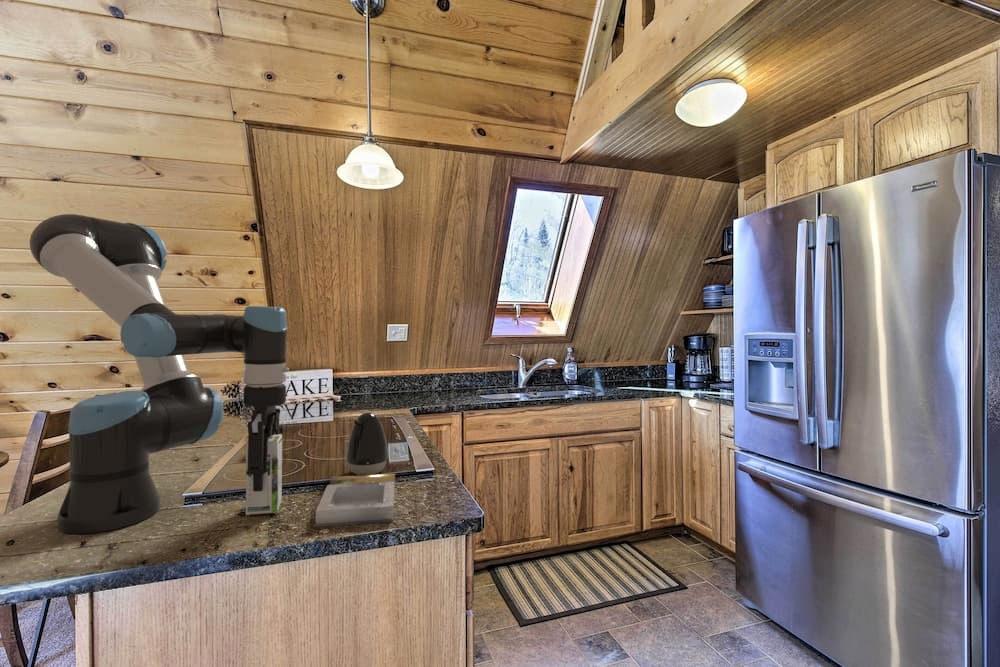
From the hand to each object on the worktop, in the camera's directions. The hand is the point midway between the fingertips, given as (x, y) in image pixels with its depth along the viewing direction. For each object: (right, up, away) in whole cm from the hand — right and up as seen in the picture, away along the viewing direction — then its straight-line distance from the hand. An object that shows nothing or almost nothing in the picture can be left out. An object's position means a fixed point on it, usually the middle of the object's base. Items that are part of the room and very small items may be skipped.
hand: (264, 499), depth 95 cm
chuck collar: (+18, -3, +2) cm, 19 cm away
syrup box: (0, -2, 0) cm, 2 cm away
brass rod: (+16, -2, +13) cm, 21 cm away
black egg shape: (+14, -2, +24) cm, 28 cm away
